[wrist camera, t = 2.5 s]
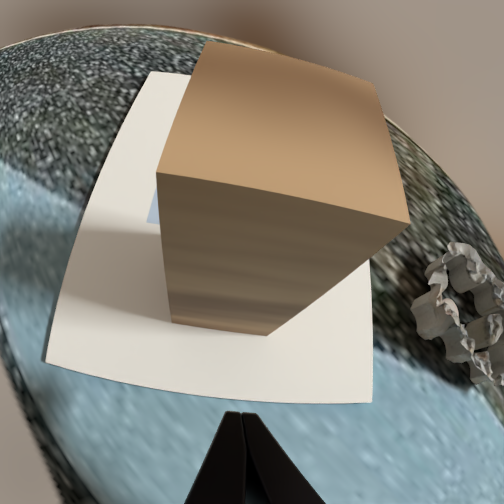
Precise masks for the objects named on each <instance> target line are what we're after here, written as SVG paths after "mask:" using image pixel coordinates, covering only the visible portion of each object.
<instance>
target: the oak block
mask: <svg viewBox="0 0 504 504" xmlns="http://www.w3.org/2000/svg"><path fill="white" fill-rule="evenodd" d="M156 184H157V198H158V211H159V223H160V233H161V243H162V253H163V262H164V270H165V278H166V286H167V294H168V301H169V308H170V315H171V322H172V323H175V324H181V325H187V326H194V327H200V328H207V329H214V330H221V331H229V332H236V333H244V334H253V335H261V336H268V335H269V334H271V333H272V332H274V331H275V330H276V329H278V328H279V327H281V326H282V325H283V324H285V323H286V322H287V321H289V320H290V319H292V318H293V317H294V316H296V315H297V314H298V313H300V312H301V311H302V310H304V309H305V308H307V307H308V306H309V305H311V304H312V303H313V302H315V301H316V300H317V299H318V298H320V297H321V296H322V295H324V294H325V293H326V292H328V291H329V290H330V289H332V288H333V287H334V286H335V285H337V284H338V283H339V282H341V281H342V280H343V279H344V278H346V277H347V276H348V275H349V274H351V273H352V272H353V271H354V270H356V269H357V268H358V267H359V266H361V265H362V264H363V263H364V262H366V261H367V260H368V259H369V258H371V257H372V256H373V255H374V254H375V253H377V252H378V251H379V250H380V249H381V248H383V247H384V246H385V245H386V244H387V243H389V242H390V241H391V240H392V239H393V238H395V237H396V236H397V235H398V234H399V233H400V232H402V231H403V230H404V229H405V228H406V227H407V226H409V225H410V219H409V213H408V208H407V203H406V199H405V194H404V189H403V185H402V181H401V176H400V172H399V168H398V164H397V160H396V156H395V153H394V149H393V145H392V142H391V138H390V135H389V131H388V128H387V124H386V121H385V118H384V115H383V112H382V108H381V105H380V102H379V99H378V96H377V93H376V90H375V88H374V85H373V83H370V82H367V81H365V80H362V79H359V78H356V77H354V76H351V75H348V74H345V73H342V72H339V71H336V70H333V69H330V68H327V67H323V66H320V65H316V64H313V63H310V62H306V61H302V60H299V59H295V58H291V57H287V56H283V55H279V54H275V53H270V52H266V51H261V50H257V49H252V48H247V47H241V46H236V45H230V44H224V43H218V42H211V41H207V42H206V44H205V46H204V48H203V50H202V53H201V55H200V57H199V59H198V62H197V64H196V66H195V69H194V71H193V73H192V76H191V78H190V80H189V83H188V85H187V88H186V90H185V93H184V95H183V98H182V100H181V103H180V105H179V108H178V110H177V113H176V116H175V118H174V121H173V124H172V126H171V129H170V132H169V135H168V137H167V140H166V143H165V146H164V149H163V152H162V155H161V158H160V161H159V164H158V167H157V170H156Z"/></svg>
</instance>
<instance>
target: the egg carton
mask: <svg viewBox="0 0 504 504" xmlns="http://www.w3.org/2000/svg"><path fill="white" fill-rule="evenodd" d="M448 250H449V252H447V253H445V255H443V256H442V257H440V258H438V259H437V260H435V261H434V262H433V263H431V264H430V265H429V266H428V267H427V269H426V271H425V276H426V277H427V279H428V281H429V283H428V285H430V286H431V291H429V292H428V293H426V294H424V295H422V296H420V297H419V298H417V299H415V300H414V302H413V304H412V306H411V311H412V313H413V315H414V316H415V318H416V322H417V333H418V334H419V335H420V336H421V337H422V338H423V339H425V340H427V339H430V340H432V339H433V338H435V337H437V336H440V337H441V338H442V339H443V341H444V343H445V347H446V357H445V358H446V359H448V360H450V361H452V362H453V363H456V362H459V363H463V362H465V361H467V362H468V363H469V365H470V371H471V375H470V380H471V381H472V382H473V383H474V384H479V383H481V382H484V381H489V382H492V381H494V386H498V385H504V283H503V282H501V281H500V280H498V279H497V278H496V277H495V275H494V274H493V273H492V271H491V270H490V269H488V268H487V267H486V266H485V265H484V263H483V262H482V260H481V259H480V257H479V255H478V253H477V252H476V250H475V249H474V248H473V247H472V246H470V245H468V244H464V243H456V242H450V243H449V244H448ZM447 269H448V270H449V279H450V282H451V285H452V286H453V288H454V289H455V290H456V291H457V292H459V293H464V292H466V291H468V290H470V291H471V292H472V293H473V294H474V304H475V308H476V310H477V312H478V313H479V314H480V315H481V316H483V317H482V318H479V319H477V320H474V321H472V322H470V323H468V324H467V326H466V328H464V325H465V324H460V321H459V317H458V309H457V307H456V305H455V303H454V302H453V300H451V299H448V298H446V299H443V300H442V295H441V294H442V292H443V291H444V290H445V289H446V287H447V285H448V275H447V273H446V270H447ZM497 340H498V341H497ZM488 346H489V347H488ZM484 347H488V349H487V351H484V352H479V353H474V350H478V349H481V348H484ZM485 349H486V348H485ZM473 353H474V354H473Z"/></svg>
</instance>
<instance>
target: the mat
mask: <svg viewBox="0 0 504 504" xmlns="http://www.w3.org/2000/svg"><path fill="white" fill-rule="evenodd" d="M190 78H191V76H189V75H181V74H173V73H163V72H152V71H151V73H150V74H149V76H148V78H147V80H146V81H145V83H144V85H143V87H142V88H141V90H140V92H139V94H138V96H137V97H136V99H135V101H134V103H133V105H132V107H131V109H130V111H129V113H128V115H127V117H126V118H125V120H124V122H123V124H122V126H121V129H120V131H119V133H118V135H117V137H116V139H115V141H114V143H113V145H112V147H111V150H110V152H109V154H108V156H107V159H106V161H105V163H104V165H103V168H102V170H101V172H100V175H99V177H98V180H97V182H96V185H95V187H94V190H93V192H92V195H91V197H90V200H89V202H88V205H87V208H86V211H85V213H84V216H83V219H82V222H81V224H80V227H79V230H78V233H77V236H76V239H75V242H74V245H73V249H72V252H71V255H70V258H69V262H68V265H67V269H66V272H65V276H64V279H63V283H62V287H61V290H60V294H59V298H58V302H57V307H56V311H55V315H54V320H53V324H52V329H51V334H50V339H49V344H48V350H47V355H46V361H45V362H46V363H50V364H53V365H56V366H60V367H63V368H67V369H70V370H74V371H78V372H81V373H85V374H89V375H93V376H97V377H101V378H106V379H110V380H114V381H119V382H124V383H128V384H133V385H138V386H143V387H149V388H154V389H160V390H166V391H172V392H179V393H186V394H193V395H200V396H208V397H217V398H227V399H237V400H249V401H263V402H282V403H367V402H372V382H373V330H372V301H371V282H370V267H369V259H368V260H367V261H366V262H364V263H363V264H362V265H361V266H359V267H358V268H357V269H356V270H354V271H353V272H352V273H351V274H349V275H348V276H347V277H346V278H344V279H343V280H342V281H341V282H339V283H338V284H337V285H335V286H334V287H333V288H332V289H330V290H329V291H328V292H326V293H325V294H324V295H322V296H321V297H320V298H318V299H317V300H316V301H315V302H313V303H312V304H311V305H309V306H308V307H307V308H305V309H304V310H302V311H301V312H300V313H298V314H297V315H296V316H294V317H293V318H292V319H290V320H289V321H287V322H286V323H285V324H283V325H282V326H281V327H279V328H278V329H276V330H275V331H274V332H272V333H271V334H269V335H268V336H261V335H253V334H244V333H236V332H229V331H221V330H214V329H207V328H200V327H194V326H187V325H181V324H175V323H172V322H171V315H170V308H169V301H168V294H167V286H166V278H165V270H164V262H163V253H162V243H161V233H160V223H159V211H158V198H157V184H156V170H157V167H158V164H159V161H160V158H161V155H162V152H163V149H164V146H165V143H166V140H167V137H168V135H169V132H170V129H171V126H172V124H173V121H174V118H175V116H176V113H177V110H178V108H179V105H180V103H181V100H182V98H183V95H184V93H185V90H186V88H187V85H188V83H189V80H190Z"/></svg>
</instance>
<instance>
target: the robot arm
mask: <svg viewBox="0 0 504 504" xmlns="http://www.w3.org/2000/svg"><path fill="white" fill-rule="evenodd" d="M184 504H326V503H325V502H324V501H323V500H322V498H321V497H320V496H319V495H318V494H317V492H316V491H315V490H314V489H313V487H312V486H311V485H310V484H309V482H308V481H307V480H306V479H305V477H304V476H303V475H302V474H301V472H300V471H299V470H298V468H297V467H296V466H295V465H294V463H293V462H292V461H291V459H290V458H289V457H288V455H287V454H286V453H285V451H284V450H283V449H282V447H281V446H280V445H279V443H278V442H277V441H276V439H275V438H274V437H273V435H272V434H271V432H270V431H269V430H268V428H267V427H266V425H265V424H264V423H263V421H262V420H261V418H260V417H259V416H258V415H257V414H256V413H247V412H243V413H240V412H235V411H226V412H225V413H224V416H223V418H222V420H221V423H220V425H219V427H218V429H217V432H216V434H215V436H214V439H213V441H212V443H211V445H210V448H209V450H208V452H207V454H206V457H205V459H204V461H203V463H202V466H201V468H200V470H199V472H198V474H197V477H196V479H195V481H194V483H193V485H192V488H191V490H190V492H189V494H188V496H187V498H186V500H185V503H184Z"/></svg>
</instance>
